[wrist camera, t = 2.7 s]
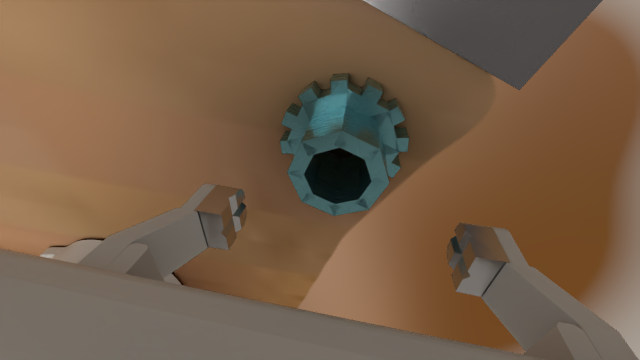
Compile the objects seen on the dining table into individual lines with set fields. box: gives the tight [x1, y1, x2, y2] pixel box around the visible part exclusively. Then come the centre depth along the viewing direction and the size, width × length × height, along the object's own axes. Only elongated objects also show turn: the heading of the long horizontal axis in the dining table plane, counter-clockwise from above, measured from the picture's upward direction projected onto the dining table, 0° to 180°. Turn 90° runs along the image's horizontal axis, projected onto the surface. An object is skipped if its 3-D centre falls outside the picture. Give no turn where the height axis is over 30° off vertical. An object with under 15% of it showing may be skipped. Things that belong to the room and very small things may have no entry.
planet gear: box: [280, 73, 409, 216], centre depth 15 cm, size 8×8×5 cm
